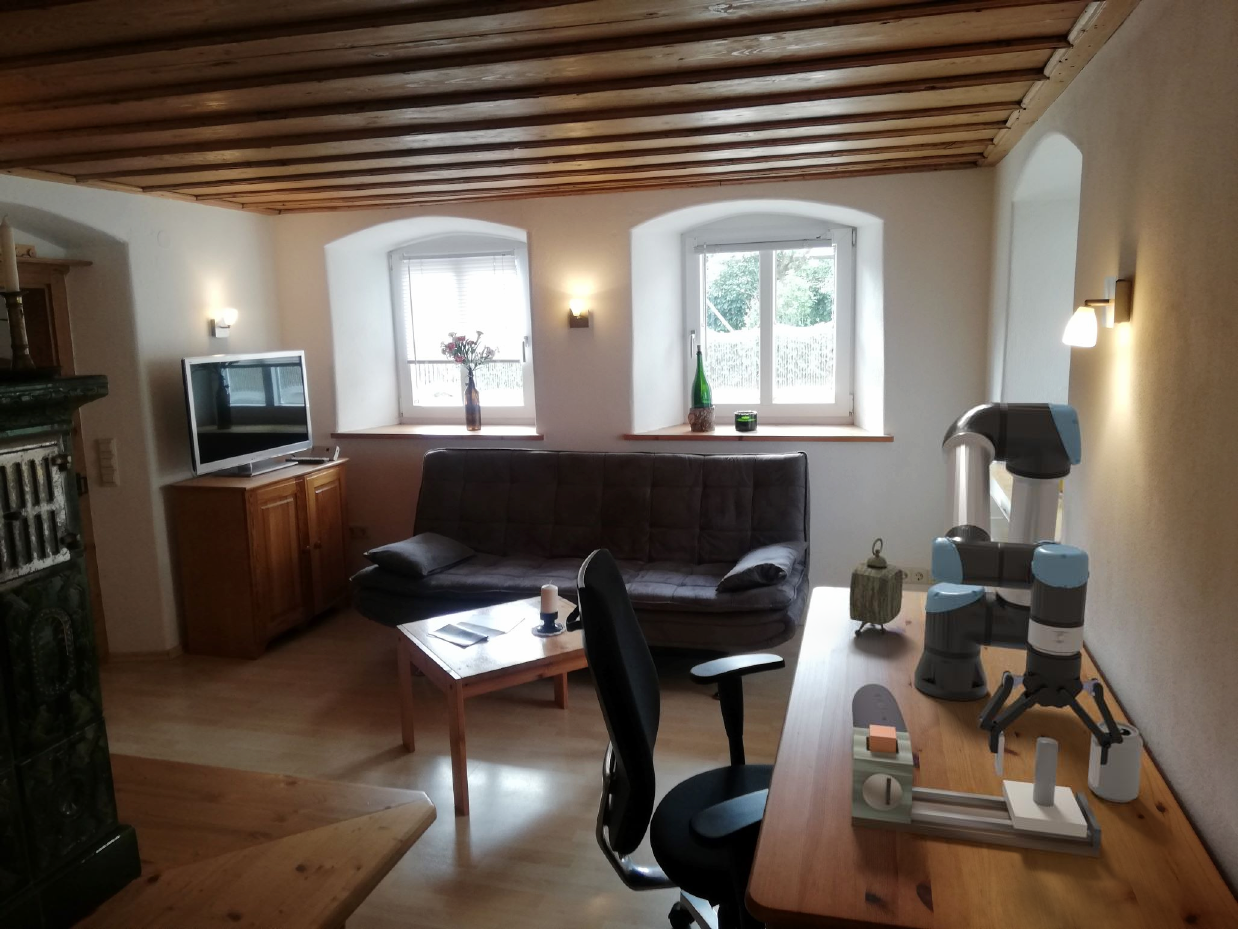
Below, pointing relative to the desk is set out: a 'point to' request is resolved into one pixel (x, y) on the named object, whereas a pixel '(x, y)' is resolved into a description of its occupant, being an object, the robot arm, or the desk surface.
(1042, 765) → the carriage
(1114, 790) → the can
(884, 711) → the bluetooth speaker
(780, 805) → the desk surface
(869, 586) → the tabletop clock
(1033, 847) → the rail bed
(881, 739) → the button
